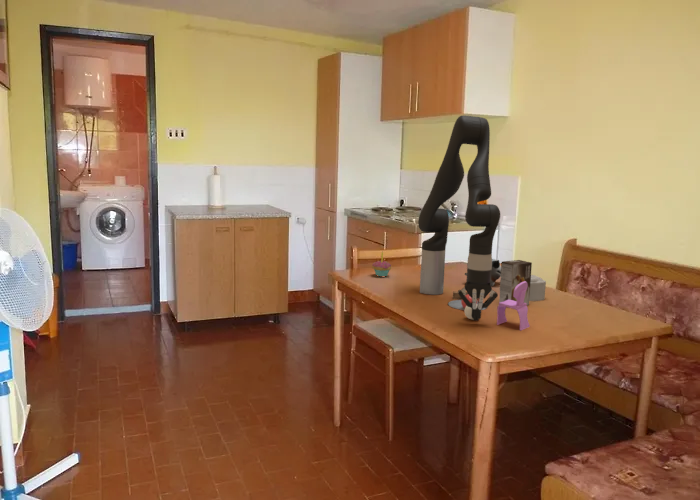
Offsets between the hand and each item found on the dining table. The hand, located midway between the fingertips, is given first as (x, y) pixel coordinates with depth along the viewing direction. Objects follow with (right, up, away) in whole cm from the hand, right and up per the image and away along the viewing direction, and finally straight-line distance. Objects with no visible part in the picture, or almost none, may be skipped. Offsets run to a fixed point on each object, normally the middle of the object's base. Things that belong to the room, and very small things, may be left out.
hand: (476, 319), depth 176 cm
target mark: (+2, +2, +23) cm, 23 cm away
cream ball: (0, +2, +5) cm, 6 cm away
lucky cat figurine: (+16, +8, +57) cm, 60 cm away
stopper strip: (+3, +4, +32) cm, 32 cm away
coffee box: (+20, +2, +25) cm, 32 cm away
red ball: (+1, +4, +17) cm, 17 cm away
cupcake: (-27, +10, +68) cm, 73 cm away
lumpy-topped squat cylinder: (+27, +4, +36) cm, 46 cm away
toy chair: (+12, -2, 0) cm, 12 cm away
